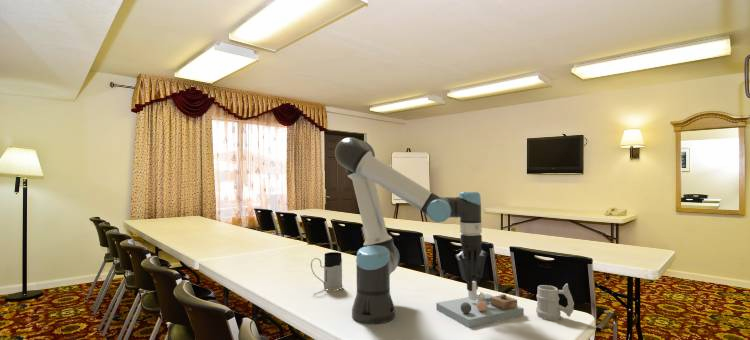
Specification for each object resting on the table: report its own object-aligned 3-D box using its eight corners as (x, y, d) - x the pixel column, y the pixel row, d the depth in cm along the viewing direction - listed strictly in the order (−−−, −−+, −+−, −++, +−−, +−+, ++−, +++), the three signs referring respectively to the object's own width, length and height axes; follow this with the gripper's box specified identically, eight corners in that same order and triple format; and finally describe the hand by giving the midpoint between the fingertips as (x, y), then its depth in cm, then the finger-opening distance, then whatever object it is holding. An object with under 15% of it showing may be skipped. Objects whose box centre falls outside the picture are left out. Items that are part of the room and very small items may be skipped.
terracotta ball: (481, 313, 122) (481, 303, 122) (474, 310, 125) (474, 300, 125) (489, 312, 123) (489, 301, 123) (482, 308, 127) (482, 298, 127)
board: (468, 327, 117) (468, 319, 117) (436, 309, 133) (436, 302, 133) (523, 315, 127) (523, 308, 127) (487, 300, 143) (487, 293, 143)
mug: (537, 311, 131) (536, 277, 131) (574, 316, 125) (573, 281, 125) (534, 318, 124) (534, 282, 125) (574, 324, 118) (573, 287, 119)
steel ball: (485, 304, 132) (478, 301, 131) (479, 301, 136) (472, 298, 134) (488, 295, 133) (481, 292, 132) (482, 292, 136) (475, 289, 135)
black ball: (465, 315, 120) (464, 305, 120) (458, 312, 123) (458, 301, 124) (473, 314, 122) (473, 303, 122) (466, 310, 125) (466, 300, 125)
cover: (503, 309, 124) (503, 299, 125) (490, 304, 130) (489, 293, 130) (517, 307, 127) (517, 296, 127) (503, 301, 133) (503, 291, 133)
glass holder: (345, 289, 159) (345, 254, 159) (313, 293, 154) (313, 257, 154) (339, 284, 167) (339, 251, 167) (309, 287, 162) (308, 253, 162)
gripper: (463, 236, 127) (464, 305, 126) (492, 233, 132) (493, 299, 132) (450, 234, 134) (451, 298, 133) (478, 231, 139) (479, 293, 138)
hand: (472, 299), depth 132 cm, fingers closed
